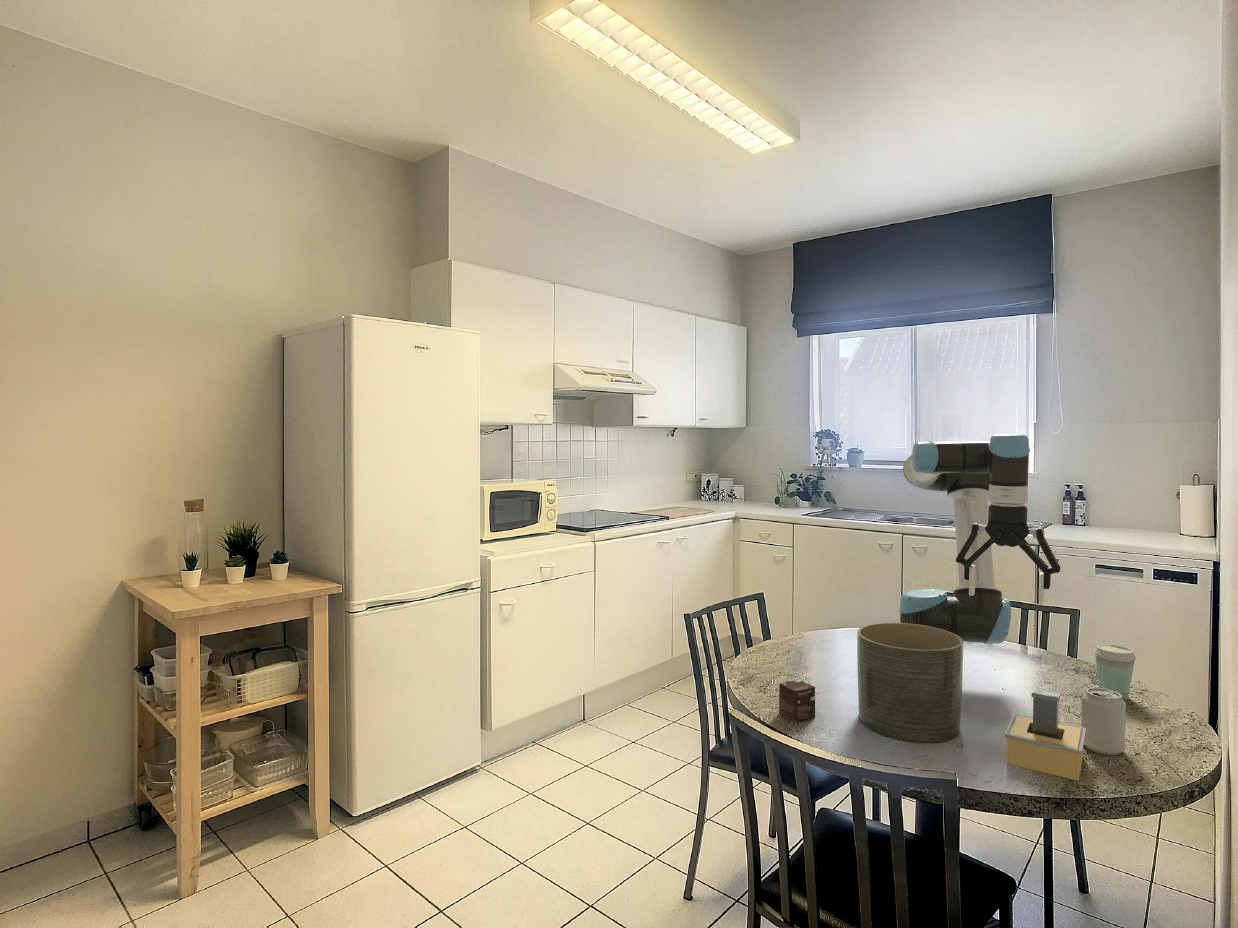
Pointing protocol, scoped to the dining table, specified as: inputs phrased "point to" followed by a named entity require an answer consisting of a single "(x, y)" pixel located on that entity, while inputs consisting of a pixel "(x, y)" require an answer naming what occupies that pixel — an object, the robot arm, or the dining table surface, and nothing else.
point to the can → (1104, 721)
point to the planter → (910, 681)
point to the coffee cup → (1115, 668)
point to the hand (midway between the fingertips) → (1005, 598)
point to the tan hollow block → (1045, 748)
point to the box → (797, 700)
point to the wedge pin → (1045, 711)
